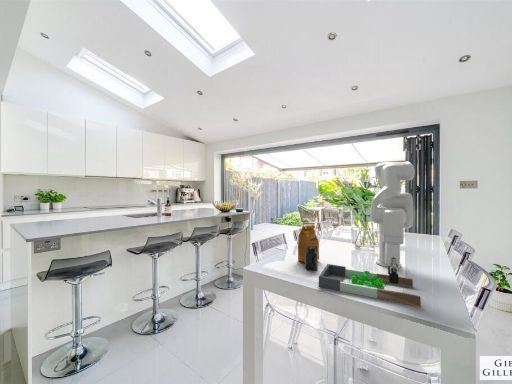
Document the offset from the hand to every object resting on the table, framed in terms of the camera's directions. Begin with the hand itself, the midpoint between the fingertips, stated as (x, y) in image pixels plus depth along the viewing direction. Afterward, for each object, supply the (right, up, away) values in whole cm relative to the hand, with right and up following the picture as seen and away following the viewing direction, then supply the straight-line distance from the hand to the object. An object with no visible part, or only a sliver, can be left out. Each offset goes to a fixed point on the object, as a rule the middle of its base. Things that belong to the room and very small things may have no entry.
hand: (393, 278), depth 95 cm
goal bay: (-12, -5, +5) cm, 14 cm away
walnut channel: (0, -5, -1) cm, 5 cm away
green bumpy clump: (-9, -6, +4) cm, 12 cm away
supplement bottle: (-28, -6, +28) cm, 40 cm away
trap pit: (-22, -5, +11) cm, 25 cm away
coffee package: (-26, -6, +42) cm, 50 cm away
